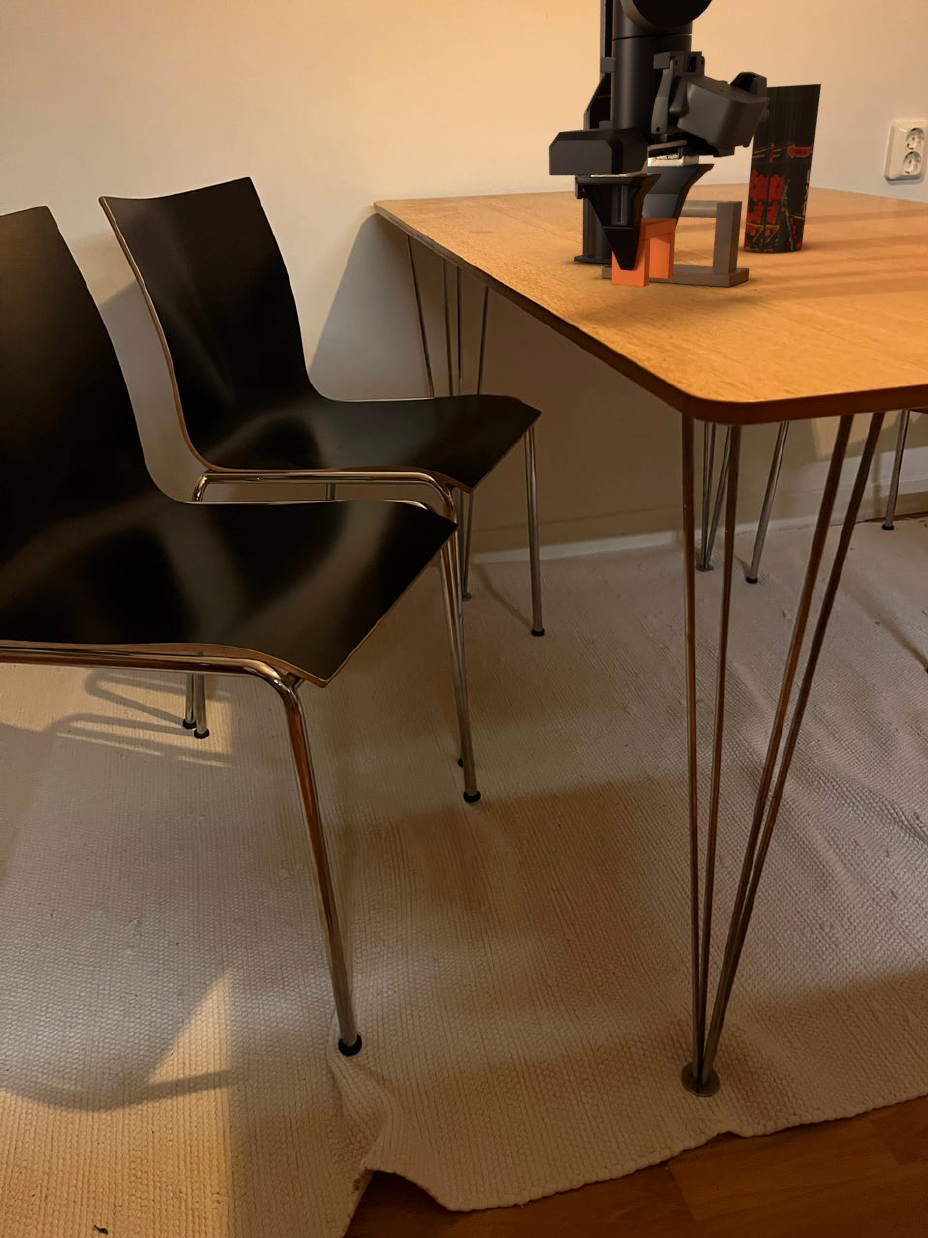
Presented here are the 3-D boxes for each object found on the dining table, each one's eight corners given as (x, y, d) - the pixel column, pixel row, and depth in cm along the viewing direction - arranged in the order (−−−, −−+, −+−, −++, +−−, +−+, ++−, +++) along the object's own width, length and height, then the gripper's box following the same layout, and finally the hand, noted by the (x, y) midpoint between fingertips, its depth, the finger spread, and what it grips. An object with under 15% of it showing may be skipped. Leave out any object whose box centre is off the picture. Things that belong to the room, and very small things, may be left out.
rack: (601, 278, 87) (602, 201, 84) (622, 271, 90) (625, 196, 87) (729, 287, 80) (736, 203, 77) (748, 279, 83) (756, 198, 79)
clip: (611, 284, 74) (612, 224, 72) (641, 275, 78) (643, 217, 75) (643, 287, 73) (646, 225, 71) (673, 277, 76) (676, 218, 74)
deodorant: (740, 245, 101) (754, 87, 93) (796, 243, 100) (815, 83, 92) (746, 253, 96) (761, 87, 88) (806, 251, 95) (826, 83, 87)
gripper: (692, 25, 56) (677, 292, 64) (810, 29, 68) (785, 252, 76) (543, 41, 63) (545, 281, 70) (675, 42, 75) (665, 247, 82)
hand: (643, 264), depth 75 cm, fingers closed on clip, 5 cm apart
